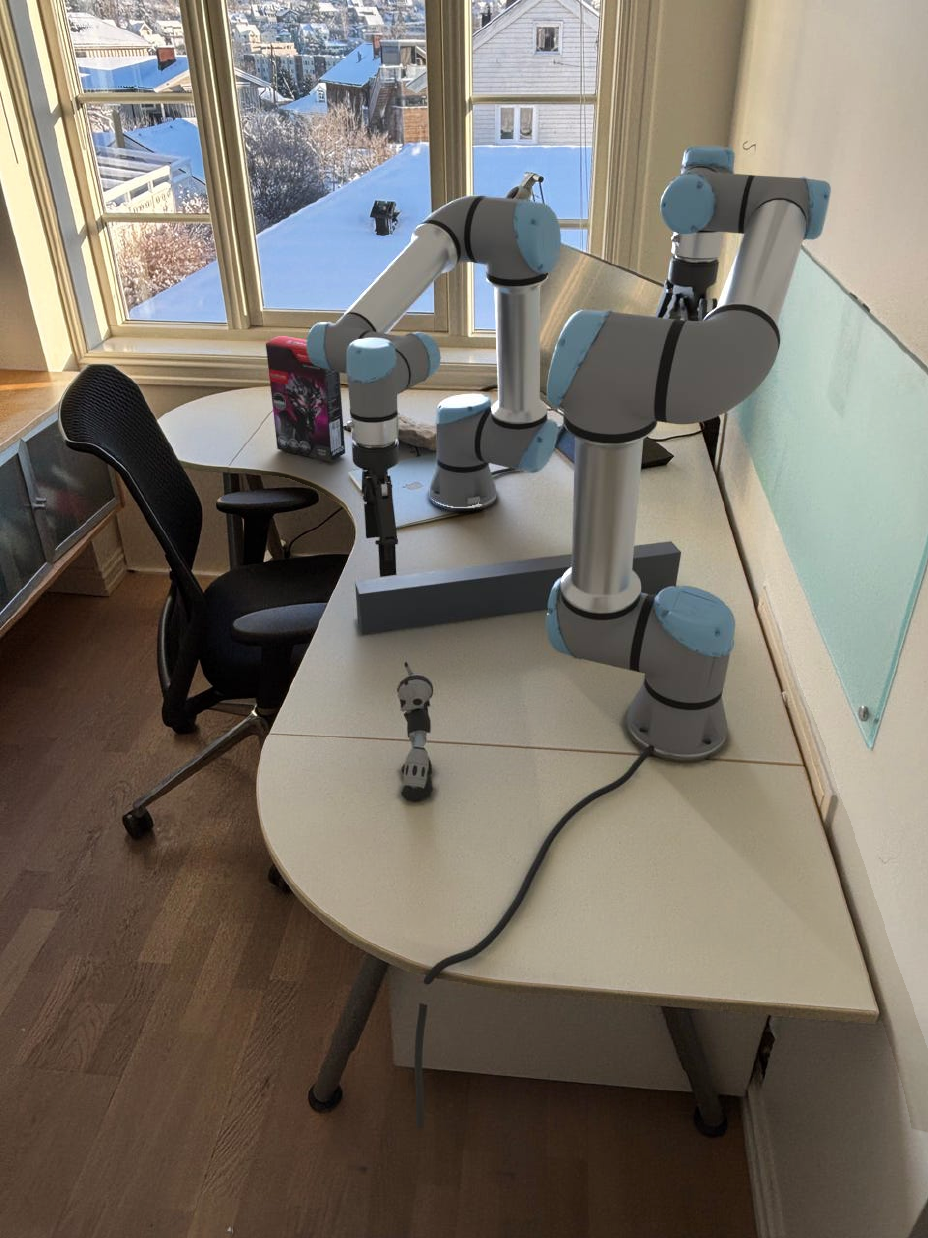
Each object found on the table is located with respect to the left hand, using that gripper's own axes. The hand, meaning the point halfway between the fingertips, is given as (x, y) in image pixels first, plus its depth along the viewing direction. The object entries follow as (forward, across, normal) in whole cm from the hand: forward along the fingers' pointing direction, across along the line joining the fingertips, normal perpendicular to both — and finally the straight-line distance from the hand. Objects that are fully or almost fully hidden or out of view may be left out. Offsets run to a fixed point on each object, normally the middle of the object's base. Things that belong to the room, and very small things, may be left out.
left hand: (380, 555), depth 159 cm
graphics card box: (+14, -79, -4) cm, 81 cm away
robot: (+14, +41, -3) cm, 44 cm away
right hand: (-25, 0, +52) cm, 58 cm away
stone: (+14, -82, +21) cm, 85 cm away
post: (+14, 0, +26) cm, 30 cm away
